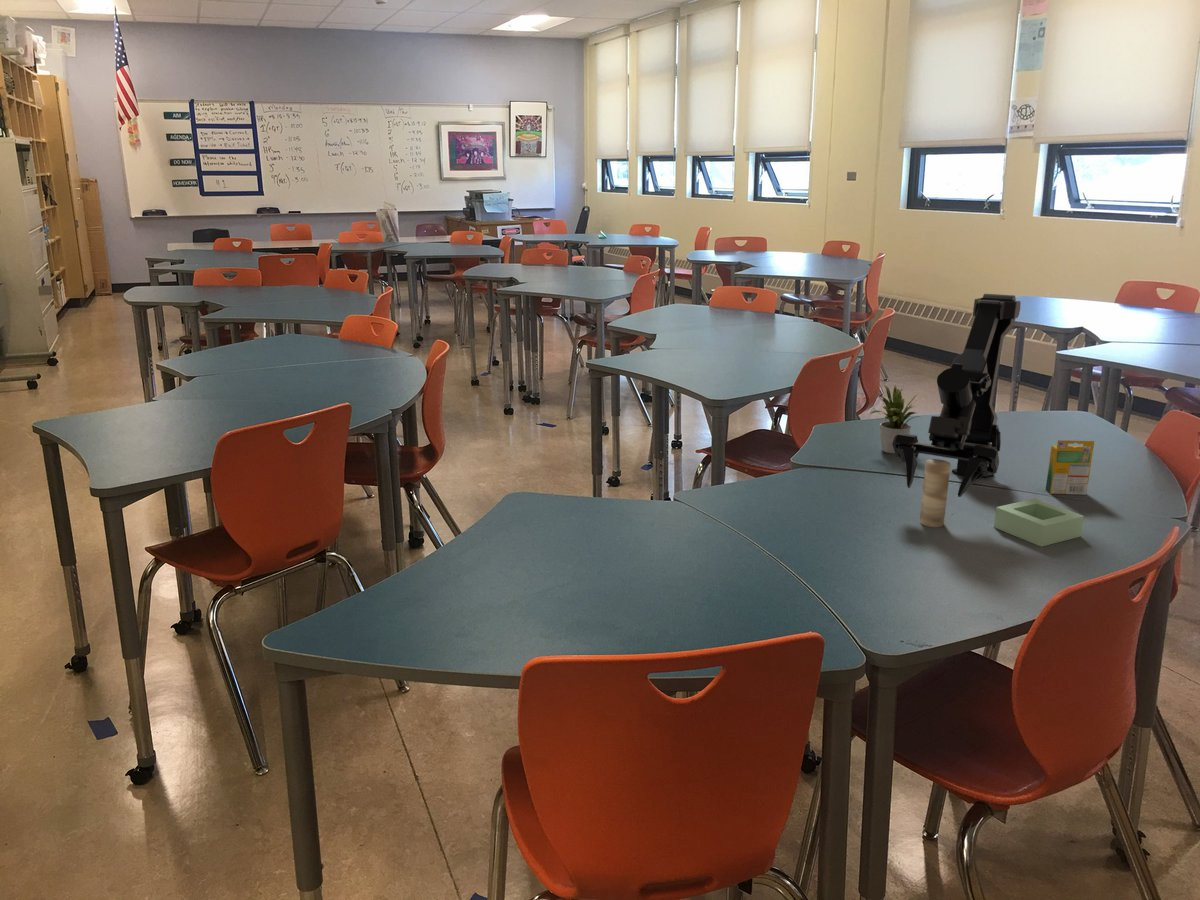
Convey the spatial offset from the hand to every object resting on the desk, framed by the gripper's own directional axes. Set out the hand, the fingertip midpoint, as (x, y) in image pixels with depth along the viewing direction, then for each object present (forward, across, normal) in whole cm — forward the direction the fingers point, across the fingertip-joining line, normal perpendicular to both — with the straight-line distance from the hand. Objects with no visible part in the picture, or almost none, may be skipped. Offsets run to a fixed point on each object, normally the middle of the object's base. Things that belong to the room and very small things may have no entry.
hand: (933, 491), depth 169 cm
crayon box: (-19, +19, +29) cm, 39 cm away
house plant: (-26, -21, +36) cm, 50 cm away
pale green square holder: (0, +17, +10) cm, 20 cm away
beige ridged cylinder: (+4, 0, +6) cm, 7 cm away
